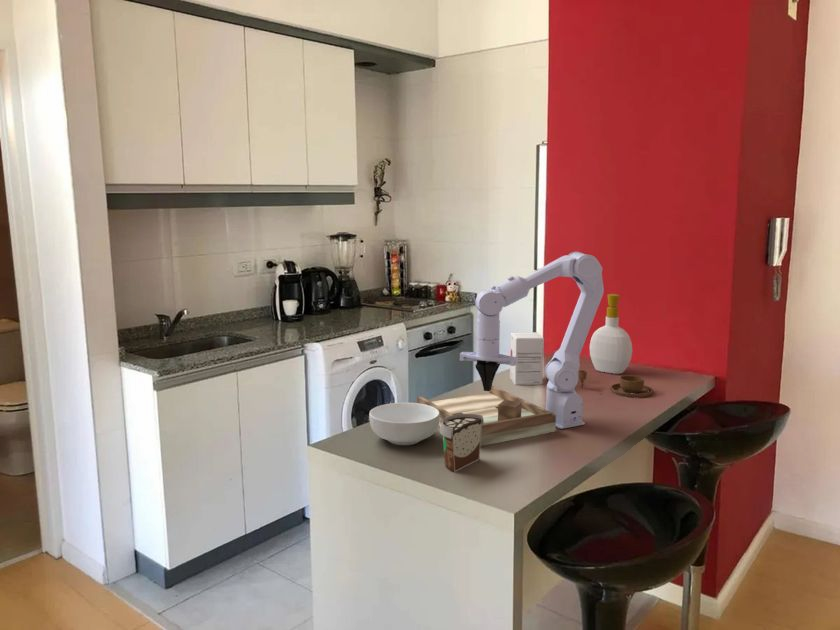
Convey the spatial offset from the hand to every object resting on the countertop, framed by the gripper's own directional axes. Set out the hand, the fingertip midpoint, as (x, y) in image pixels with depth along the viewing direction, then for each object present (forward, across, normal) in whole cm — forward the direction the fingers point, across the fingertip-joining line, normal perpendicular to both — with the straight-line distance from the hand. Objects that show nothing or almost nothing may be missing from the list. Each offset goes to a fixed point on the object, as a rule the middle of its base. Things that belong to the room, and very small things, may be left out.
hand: (487, 390), depth 177 cm
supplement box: (+9, +2, -44) cm, 45 cm away
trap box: (+9, +1, -1) cm, 9 cm away
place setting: (+10, -26, -46) cm, 54 cm away
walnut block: (+6, -7, +3) cm, 10 cm away
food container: (+9, -2, +28) cm, 29 cm away
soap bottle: (+10, -20, -67) cm, 71 cm away
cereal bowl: (+9, +14, +19) cm, 26 cm away
